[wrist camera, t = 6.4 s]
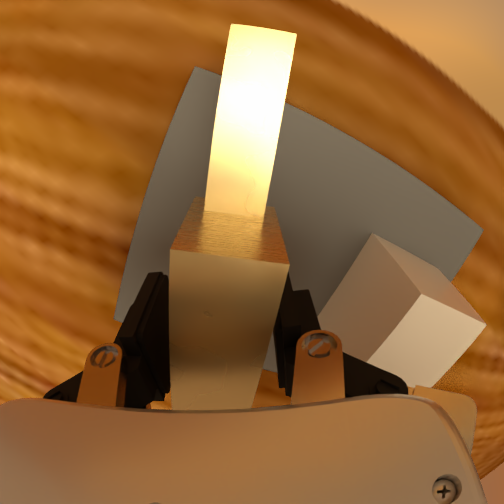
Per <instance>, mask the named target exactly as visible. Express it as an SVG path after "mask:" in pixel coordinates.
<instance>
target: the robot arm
mask: <svg viewBox="0 0 504 504" xmlns="http://www.w3.org/2000/svg"><path fill="white" fill-rule="evenodd" d="M273 337H274V346H275V355H276V364H277V373H278V382H279V388H285V392H286V396H290V397H291V405H284V406H273V407H261V408H247V409H225V410H157V409H151V404H150V403H151V402H152V401H164V398H165V393H169V391H170V387H171V382H170V355H169V279H168V276H167V275H163V273H162V272H150V273H148V274H147V276H146V278H145V280H144V282H143V284H142V286H141V288H140V290H139V292H138V295H137V297H136V299H135V301H134V303H133V304H132V305H131V306H130V308H129V310H128V312H127V314H126V317H125V319H124V321H123V323H122V325H121V327H120V330H119V332H118V334H117V336H116V339H115V341H114V343H105V344H101V345H99V346H97V347H95V348H94V349H93V350H91V352H90V353H89V354H88V356H87V359H86V363H85V367H84V371H82V372H80V373H79V374H77V375H75V376H74V377H72V378H70V379H68V380H67V381H65V382H63V383H62V384H60V385H58V386H56V387H55V388H53V389H51V390H50V391H49V392H47V393H46V394H45V396H44V397H43V398H22V399H16V400H12V401H8V402H6V403H3V404H1V405H0V504H487V501H486V497H485V494H484V491H483V488H482V485H481V482H480V479H479V476H478V473H477V470H476V468H475V465H474V463H473V460H472V458H471V451H472V445H473V439H474V432H475V424H476V415H477V408H476V404H475V402H474V401H473V400H472V399H471V398H470V397H469V396H466V395H463V394H458V393H453V392H448V391H443V390H438V389H433V388H428V387H424V386H419V385H415V388H413V387H408V386H407V384H406V383H405V381H404V380H403V379H402V378H400V377H398V376H397V375H394V374H392V373H390V372H387V371H385V370H383V369H380V368H378V367H376V366H374V365H371V364H369V363H367V362H364V361H362V360H360V359H358V358H355V357H353V356H351V355H349V354H346V353H344V352H343V351H342V343H341V340H340V339H339V337H338V336H337V335H335V334H334V333H332V332H329V331H326V330H321V327H320V324H319V321H318V317H317V314H316V311H315V308H314V304H313V301H312V298H311V295H310V291H309V290H308V289H305V290H296V291H293V288H292V284H291V280H290V276H289V272H288V274H287V278H286V282H285V286H284V290H283V294H282V298H281V302H280V305H279V309H278V313H277V317H276V321H275V325H274V328H273Z"/></svg>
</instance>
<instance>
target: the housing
mask: <svg viewBox="0 0 504 504" xmlns="http://www.w3.org/2000/svg"><path fill="white" fill-rule="evenodd" d="M221 79H222V76H221V75H218V74H216V73H213V72H210V71H207V70H204V69H202V68H199V67H196V66H195V68H194V70H193V72H192V74H191V77H190V79H189V81H188V83H187V86H186V88H185V90H184V92H183V95H182V97H181V99H180V102H179V104H178V107H177V109H176V111H175V114H174V116H173V119H172V121H171V124H170V126H169V129H168V132H167V134H166V137H165V139H164V142H163V145H162V148H161V150H160V153H159V156H158V159H157V161H156V164H155V167H154V170H153V173H152V176H151V179H150V182H149V185H148V188H147V191H146V194H145V197H144V201H143V204H142V207H141V210H140V214H139V217H138V221H137V224H136V228H135V231H134V235H133V238H132V242H131V246H130V250H129V253H128V257H127V261H126V265H125V269H124V274H123V278H122V282H121V287H120V291H119V296H118V300H117V305H116V310H115V315H114V319H115V320H117V321H119V322H122V323H123V321H124V319H125V317H126V314H127V312H128V310H129V308H130V306H131V305H132V304H133V303H134V301H135V299H136V297H137V295H138V292H139V290H140V288H141V286H142V284H143V282H144V280H145V278H146V276H147V274H148V273H150V272H162V273H163V275H167V276H168V279H169V266H170V248H171V246H172V244H173V242H174V240H175V237H176V235H177V233H178V231H179V229H180V227H181V225H182V223H183V221H184V218H185V216H186V214H187V212H188V210H189V208H190V206H191V204H192V202H193V200H194V198H195V197H203V198H205V197H206V188H207V179H208V171H209V163H210V155H211V147H212V140H213V132H214V125H215V118H216V111H217V105H218V98H219V92H220V85H221ZM266 206H270V207H275V211H276V215H277V218H278V222H279V226H280V229H281V233H282V237H283V241H284V244H285V248H286V252H287V256H288V260H289V263H290V266H289V270H288V272H289V276H290V280H291V284H292V288H293V291H296V290H305V289H308V290H309V291H310V295H311V298H312V301H313V304H314V308H315V311H316V314H317V317H318V315H319V314H320V312H321V311H322V309H323V308H324V307H325V305H326V304H327V302H328V301H329V299H330V298H331V296H332V295H333V293H334V292H335V290H336V289H337V287H338V286H339V284H340V283H341V281H342V280H343V278H344V277H345V275H346V274H347V272H348V271H349V269H350V267H351V266H352V264H353V263H354V261H355V260H356V258H357V256H358V255H359V253H360V252H361V250H362V248H363V247H364V245H365V244H366V242H367V240H368V239H369V237H370V235H371V234H372V233H373V234H375V235H377V236H379V237H381V238H383V239H385V240H387V241H389V242H391V243H393V244H394V245H396V246H398V247H400V248H402V249H404V250H406V251H407V252H409V253H411V254H413V255H415V256H417V257H418V258H420V259H422V260H424V261H426V262H427V263H429V264H431V265H433V266H435V267H436V268H438V269H439V270H440V271H441V272H442V273H443V275H444V276H445V277H446V278H447V279H448V280H449V281H450V282H451V281H452V280H453V278H454V277H455V275H456V274H457V272H458V271H459V269H460V268H461V266H462V265H463V263H464V262H465V260H466V258H467V257H468V255H469V254H470V252H471V250H472V249H473V247H474V246H475V244H476V242H477V241H478V239H479V237H480V236H481V234H482V232H483V229H482V228H481V227H480V226H479V225H477V224H476V223H475V222H474V221H473V220H471V219H470V218H469V217H468V216H466V215H465V214H464V213H463V212H462V211H460V210H459V209H458V208H456V207H455V206H454V205H453V204H451V203H450V202H449V201H447V200H446V199H445V198H444V197H442V196H441V195H440V194H438V193H437V192H435V191H434V190H433V189H431V188H430V187H429V186H427V185H426V184H424V183H423V182H422V181H420V180H419V179H417V178H416V177H414V176H413V175H411V174H410V173H409V172H407V171H406V170H404V169H403V168H401V167H400V166H398V165H397V164H395V163H393V162H392V161H390V160H389V159H387V158H386V157H384V156H382V155H381V154H379V153H378V152H376V151H374V150H373V149H371V148H369V147H368V146H366V145H364V144H363V143H361V142H359V141H358V140H356V139H354V138H352V137H351V136H349V135H347V134H345V133H344V132H342V131H340V130H338V129H336V128H335V127H333V126H331V125H329V124H327V123H325V122H323V121H321V120H320V119H318V118H316V117H314V116H312V115H310V114H308V113H306V112H304V111H302V110H300V109H298V108H296V107H294V106H291V105H289V104H287V103H285V102H284V108H283V113H282V119H281V124H280V130H279V136H278V141H277V147H276V152H275V158H274V163H273V169H272V174H271V180H270V185H269V191H268V196H267V202H266ZM263 369H265V370H269V371H273V372H277V364H276V355H275V346H274V337H273V332H272V336H271V339H270V343H269V347H268V350H267V354H266V358H265V361H264V365H263Z"/></svg>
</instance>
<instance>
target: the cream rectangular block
mask: <svg viewBox="0 0 504 504" xmlns="http://www.w3.org/2000/svg"><path fill="white" fill-rule="evenodd" d="M318 321H319V324H320V327H321V330H326V331H329V332H332V333H334V334H335V335H337V336H338V337H339V339H340V340H341V343H342V351H343V352H344V353H346V354H349V355H351V356H353V357H355V358H358V359H360V360H362V361H364V362H367V363H369V364H371V365H374V366H376V367H378V368H380V369H383V370H385V371H387V372H390V373H392V374H394V375H397V376H398V377H400V378H402V379H403V380H404V381H405V383H406V384H407V386H408V387H413V388H415V385H419V386H424V387H428V388H431V387H432V386H433V385H434V384H435V383H436V382H437V381H438V380H439V379H440V378H441V377H442V376H443V375H444V374H445V373H446V372H447V371H448V370H449V369H450V367H451V366H452V365H453V364H454V363H455V362H456V361H457V360H458V359H459V358H460V356H461V355H462V354H463V353H464V352H465V351H466V350H467V348H468V347H469V346H470V345H471V344H472V343H473V341H474V340H475V339H476V338H477V336H478V335H479V334H480V333H481V332H482V330H483V329H484V328H485V326H486V325H487V324H486V323H485V322H484V321H483V319H482V318H481V317H480V316H479V315H478V313H477V312H476V311H475V310H474V309H473V307H472V306H471V305H470V304H469V303H468V302H467V300H466V299H465V298H464V297H463V296H462V295H461V293H460V292H459V291H458V290H457V289H456V288H455V287H454V286H453V284H452V283H451V282H450V281H449V280H448V279H447V278H446V277H445V276H444V275H443V273H442V272H441V271H440V270H439V269H438V268H436V267H435V266H433V265H431V264H429V263H427V262H426V261H424V260H422V259H420V258H418V257H417V256H415V255H413V254H411V253H409V252H407V251H406V250H404V249H402V248H400V247H398V246H396V245H394V244H393V243H391V242H389V241H387V240H385V239H383V238H381V237H379V236H377V235H375V234H373V233H372V234H371V235H370V237H369V239H368V240H367V242H366V244H365V245H364V247H363V248H362V250H361V252H360V253H359V255H358V256H357V258H356V260H355V261H354V263H353V264H352V266H351V267H350V269H349V271H348V272H347V274H346V275H345V277H344V278H343V280H342V281H341V283H340V284H339V286H338V287H337V289H336V290H335V292H334V293H333V295H332V296H331V298H330V299H329V301H328V302H327V304H326V305H325V307H324V308H323V309H322V311H321V312H320V314H319V315H318Z"/></svg>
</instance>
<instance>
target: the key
mask: <svg viewBox="0 0 504 504" xmlns="http://www.w3.org/2000/svg"><path fill="white" fill-rule="evenodd" d="M295 40H296V34H294V33H289V32H284V31H278V30H273V29H267V28H260V27H253V26H246V25H238V24H231V28H230V34H229V39H228V44H227V50H226V56H225V61H224V67H223V73H222V79H221V85H220V92H219V98H218V105H217V111H216V118H215V125H214V132H213V140H212V147H211V155H210V163H209V171H208V179H207V188H206V197H205V198H203V197H195V198H194V200H193V202H192V204H191V206H190V208H189V210H188V212H187V214H186V216H185V218H184V221H183V223H182V225H181V227H180V229H179V231H178V233H177V235H176V237H175V240H174V242H173V244H172V246H171V248H170V266H169V355H170V382H171V400H172V410H225V409H247V408H251V407H252V403H253V400H254V397H255V393H256V390H257V386H258V383H259V379H260V376H261V372H262V369H263V365H264V361H265V358H266V354H267V350H268V347H269V343H270V339H271V336H272V332H273V328H274V325H275V321H276V317H277V313H278V309H279V305H280V302H281V298H282V294H283V290H284V286H285V282H286V278H287V274H288V270H289V266H290V263H289V260H288V256H287V252H286V248H285V244H284V241H283V237H282V233H281V229H280V226H279V222H278V218H277V215H276V211H275V207H270V206H266V202H267V196H268V191H269V185H270V180H271V174H272V169H273V163H274V158H275V152H276V147H277V141H278V136H279V130H280V124H281V119H282V113H283V108H284V102H285V97H286V91H287V85H288V80H289V74H290V68H291V63H292V57H293V51H294V46H295Z"/></svg>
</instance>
